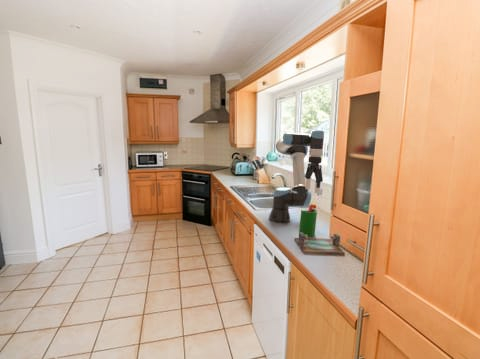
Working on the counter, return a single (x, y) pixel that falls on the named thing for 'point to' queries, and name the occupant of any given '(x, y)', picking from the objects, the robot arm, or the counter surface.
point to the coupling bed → (319, 245)
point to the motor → (308, 221)
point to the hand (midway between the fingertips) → (312, 190)
